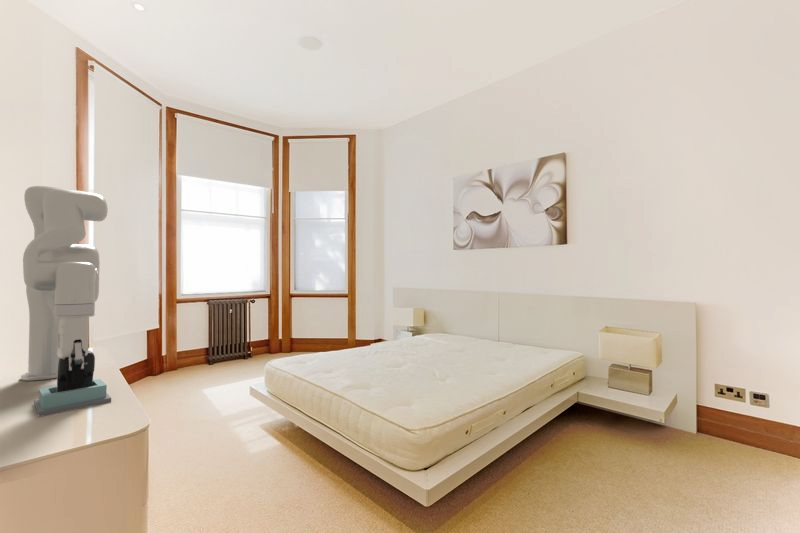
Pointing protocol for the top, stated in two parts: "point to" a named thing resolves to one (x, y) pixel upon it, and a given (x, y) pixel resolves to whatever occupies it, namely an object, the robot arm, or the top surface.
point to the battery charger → (63, 368)
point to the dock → (70, 398)
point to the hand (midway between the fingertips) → (73, 383)
